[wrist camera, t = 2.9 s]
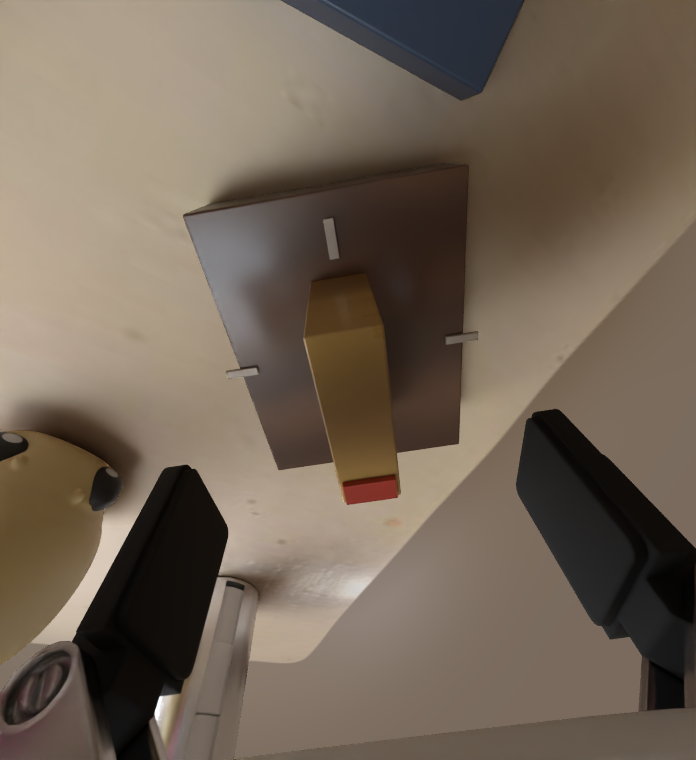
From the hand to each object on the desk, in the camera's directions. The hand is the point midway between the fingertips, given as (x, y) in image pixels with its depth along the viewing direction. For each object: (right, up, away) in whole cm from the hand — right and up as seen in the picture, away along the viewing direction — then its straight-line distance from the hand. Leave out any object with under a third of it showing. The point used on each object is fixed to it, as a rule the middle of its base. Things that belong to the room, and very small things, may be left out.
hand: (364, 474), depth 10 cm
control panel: (-1, +6, +8) cm, 10 cm away
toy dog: (-20, -4, +13) cm, 24 cm away
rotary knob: (0, +4, +5) cm, 7 cm away
